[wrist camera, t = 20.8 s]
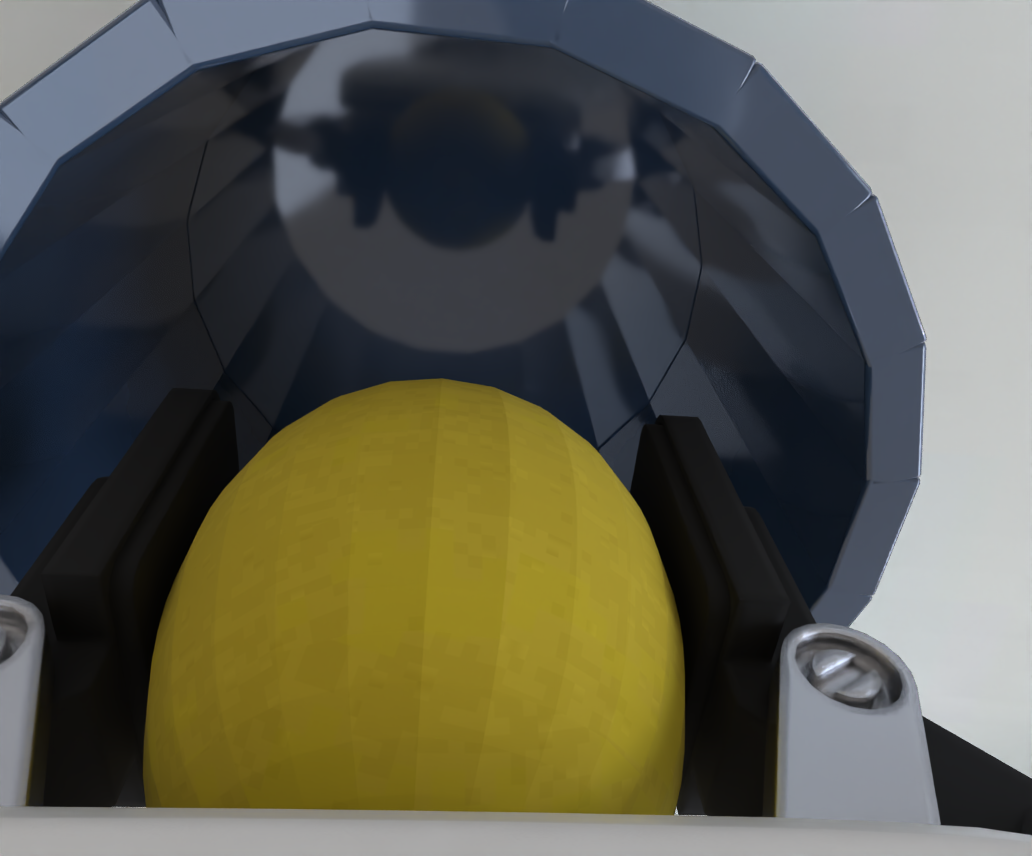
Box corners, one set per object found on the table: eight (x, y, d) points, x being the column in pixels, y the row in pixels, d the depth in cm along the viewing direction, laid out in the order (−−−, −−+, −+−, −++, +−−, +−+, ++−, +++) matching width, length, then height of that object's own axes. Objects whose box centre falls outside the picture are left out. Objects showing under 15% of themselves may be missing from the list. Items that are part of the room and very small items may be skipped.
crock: (126, -85, 16) (-276, -140, 8) (791, -4, 17) (1109, 28, 9) (187, 490, 23) (12, 815, 14) (667, 518, 24) (778, 834, 15)
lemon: (237, 563, 13) (-14, 1204, 7) (284, 241, 11) (-47, 732, 4) (559, 621, 14) (640, 1236, 7) (672, 338, 12) (957, 872, 5)
